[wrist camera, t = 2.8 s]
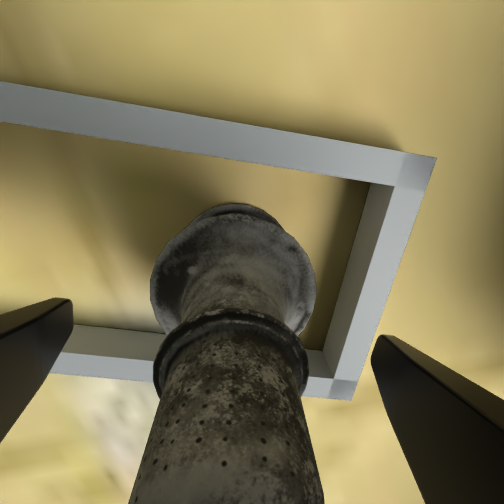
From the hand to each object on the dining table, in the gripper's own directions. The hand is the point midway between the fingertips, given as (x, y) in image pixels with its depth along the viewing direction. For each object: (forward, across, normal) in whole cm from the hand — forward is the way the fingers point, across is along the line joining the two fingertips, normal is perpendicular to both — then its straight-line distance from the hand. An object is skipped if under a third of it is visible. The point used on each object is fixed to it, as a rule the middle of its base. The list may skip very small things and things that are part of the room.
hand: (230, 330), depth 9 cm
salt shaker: (+6, 0, 0) cm, 6 cm away
